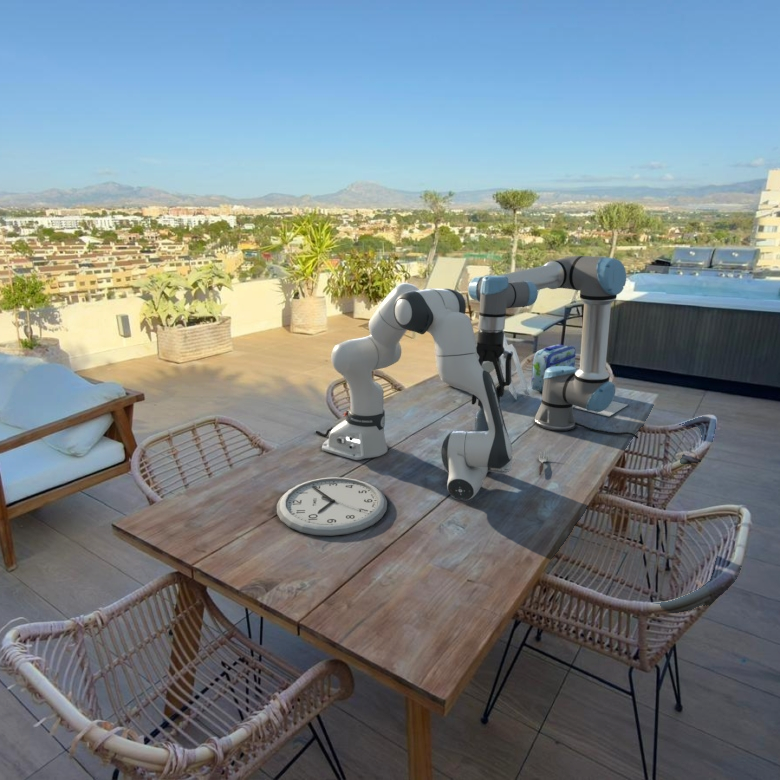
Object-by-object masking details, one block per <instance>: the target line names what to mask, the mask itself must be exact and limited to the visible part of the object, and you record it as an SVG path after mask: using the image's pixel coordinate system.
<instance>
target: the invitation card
mask: <svg viewBox="0 0 780 780" xmlns="http://www.w3.org/2000/svg"><path fill="white" fill-rule="evenodd" d="M628 406H629V404H627V403H623V402H618V401H614V400H612V402H611V403H610V405H609V406H608V407H607V408H606V409H605V410H603V411H601V412H594V411H589V410H587V409H584V408H581V407H578V406H574V407H573V409H575V410H581V411H584V412H587V413H593V414H596V415H600V416H604V417H608V418H609V417H611V416H613V415H614V414H616V413H617V412H619V411H621V410H623V409H624V408H626V407H628Z"/></svg>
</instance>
